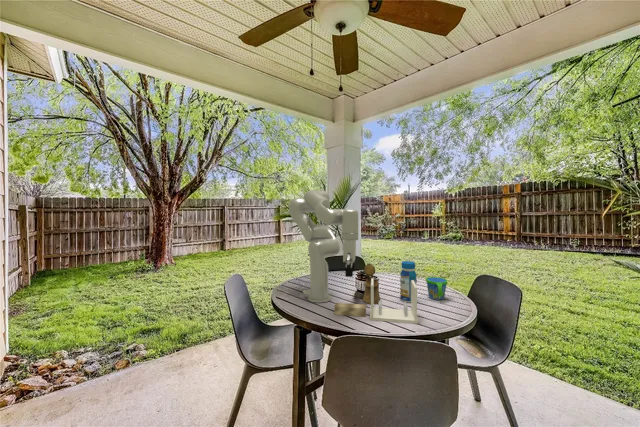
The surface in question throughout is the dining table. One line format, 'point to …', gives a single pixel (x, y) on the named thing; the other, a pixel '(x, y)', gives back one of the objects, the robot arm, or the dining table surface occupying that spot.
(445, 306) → the dining table surface
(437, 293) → the snack cup
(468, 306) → the dining table surface
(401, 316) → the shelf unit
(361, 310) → the tan wooden block
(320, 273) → the robot arm
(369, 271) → the wooden mug
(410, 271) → the beverage bottle
